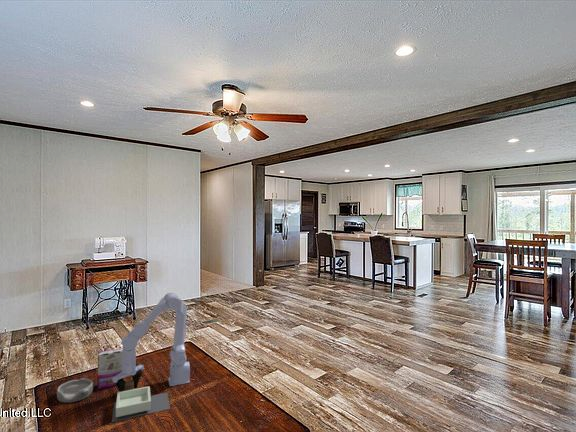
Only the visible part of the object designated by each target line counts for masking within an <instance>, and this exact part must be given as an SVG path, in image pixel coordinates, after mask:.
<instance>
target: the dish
mask: <svg viewBox="0 0 576 432" xmlns="http://www.w3.org/2000/svg"><path fill="white" fill-rule="evenodd" d="M93 391H94V382H93V380H92V379H89V378H85V377H84V378H83V377H82V378H80V379H72V380H69V381H67V382H64V383H62V384H60V385H59V386H58V387H57V391H56V398H57V400H58V401H59V402H60V403H75V402H79V401H82V400H85V399H86V398H88V397H90V396H91V394H92V393H93Z"/></svg>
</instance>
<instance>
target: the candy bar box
mask: <svg viewBox="0 0 576 432" xmlns="http://www.w3.org/2000/svg"><path fill="white" fill-rule="evenodd" d="M122 349H123V347H120V348H113V349H108V350H107V349H106V350H100V351H98V353H97V390H100V389H101V390H102V389H105V388H110V387H115V386H116V387H117V385H116V384H115V383H114V382H113V377H115V376H116V375H118V374H119V373H120V372H122V352H123V351H122ZM123 379H124V378H123ZM124 380H125V379H124Z"/></svg>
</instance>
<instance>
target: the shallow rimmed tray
mask: <svg viewBox="0 0 576 432" xmlns="http://www.w3.org/2000/svg"><path fill="white" fill-rule="evenodd" d="M116 395H117V396H116V402H115V403H116V417H119V418H122V417H123V416H124V415H129V414H133V413H138V412H142V411H143V412H144V413H146V412H147V411H148V410H151V396H152V395H151V387H150V386H142V387H139V388H138V387H137V388H134V389H132V390H127V391H122V392H119V391H117V393H116Z"/></svg>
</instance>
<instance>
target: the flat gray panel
mask: <svg viewBox="0 0 576 432" xmlns="http://www.w3.org/2000/svg"><path fill="white" fill-rule="evenodd" d="M150 396H151V410H148V411H147V412H146V413H144V412H143V411H142V412H138V413H133V414H129V415H124V416H123V417H122V418H119V417H116V402H114V403H113V407H112V408H113V410H112V419H111V423H116V422H120V421H125V420H128V419H129V420H130V419H133V418H137V417H143V416H146V415H150V414H155V413H159V412H163V411H168V410H171V407H170V400H169V395H168V392H162V393H158V394H152V395H150Z"/></svg>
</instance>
